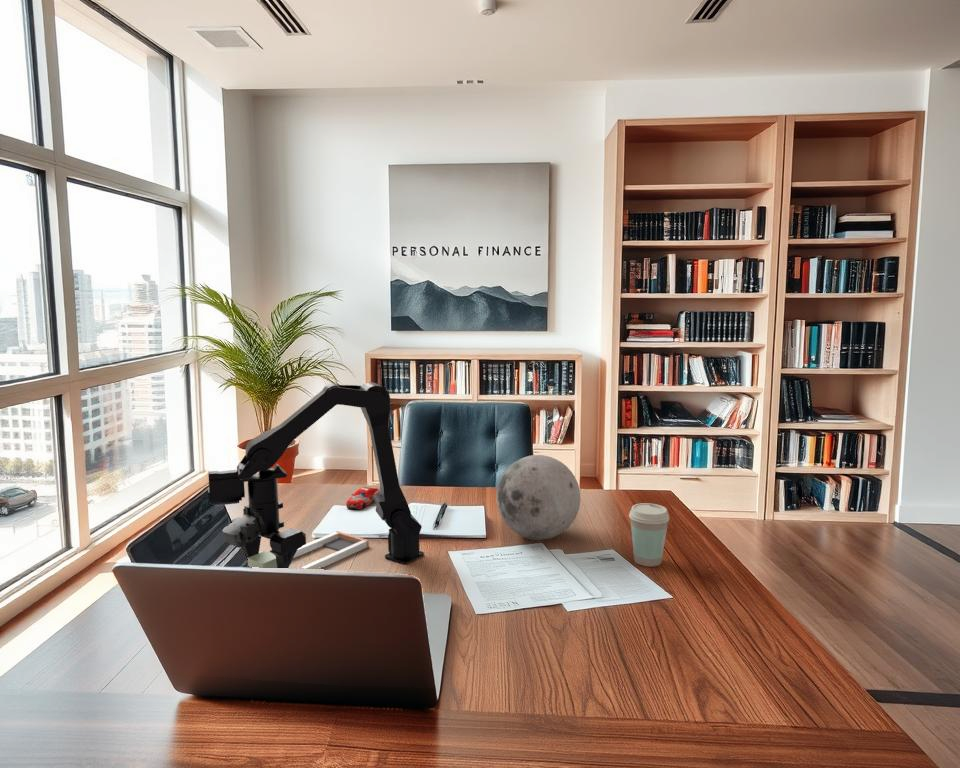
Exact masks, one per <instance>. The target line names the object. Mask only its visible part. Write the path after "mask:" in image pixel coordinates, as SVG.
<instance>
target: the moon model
mask: <svg viewBox="0 0 960 768" xmlns="http://www.w3.org/2000/svg"><path fill="white" fill-rule="evenodd" d="M496 488H497V489H496V504H497V509H498V512H499V514H500V516H501V518H502V520H503V522H504V524H506V526H507V527H509V529H510V530H512V531H513V532H514V533H515V534H517V535H518V536H521V537H523V538H526V539H529V540H535V541H543V540H545V541H546V540H548V539H549V540H550V539H553V538H555V537H557V536H560V535H562V533H564V532H565V531H567V530H568V528H570V526H572V524H573V523H574V521H575V519H576V518H577V516H578V513H579V510H580V505H581V490H580V486H579V483H578V480H577V478H576V476H575V475H574V473H573V472H572V470H571V469H570V468H569V467H568V466H567V465H566V464H564V463H563V462H562V461H560V460H558V459H557V458H554V457H551V456H548V455H545V454H543V455H542V454H532V455H527V456H525V457H522V458H519V459H518V460H516V461H514V462H513V463H511V465H509V466H508V467H507V468H506V469H505V471H504V472H503V474H502V475H501V477H500V479H499V482H498V484H497V487H496Z"/></svg>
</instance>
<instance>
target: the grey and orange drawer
mask: <svg viewBox="0 0 960 768" xmlns="http://www.w3.org/2000/svg"><path fill="white" fill-rule="evenodd" d="M335 532H336V533H339V538H338V539H336V540H334V541H331V542H329V543H327V544H324V545H323V546H322V547H325V548H329V549H332V550H335V551H336V552H337V551H339V550H342V549H344V548H346V547H348V546H351V545H353V544H355V543H358V542H360V541H362V540H363V541H366V548H365V549H367V548H369V546H370V543H369V542H370V541H369V540H368V539H365V538H363V537H359V536H355V535H352V534H348V533H346V532H342V531H335Z"/></svg>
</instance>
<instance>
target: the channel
mask: <svg viewBox="0 0 960 768" xmlns="http://www.w3.org/2000/svg"><path fill="white" fill-rule="evenodd" d="M336 532H337V531H335V532H332V533H330V534H326V535H325V536H323V537H320V538H317V539H315V540H313V541H310V542H306V545H303V546H302V547H301V548H298V550H297V552H296V553H295V555H294V557H293V559H294V558H298V557H300V556H302V555H305V554H307V553H309V552H311V551H315V550H317V549H319V548H322V547H324V546H323V545H324V544H327V543H329V542H331V541H334V540H336V539H338V538H339V533H336ZM364 549H367V548H366V541H363V540H362V541H360V542H358V543H355V544H353V545H351V546H348V547H346V548H344V549H342V550H339V551H337V550H336V551H335V552H333V553H331V554H328V555H326V556H324V557H321V558H320V559H317V560H314V561H313V562H310V563H308V564H305V565H304V566H301V568H304V569H319V570H320V569H322V568H319V567H323V568H325V567H327V566H329V565H331V564H333V563H336V562H338V561H340V560H342V559H344V558H347V557H349V556H351V555H353V554H355V553H358V552H360V551H362V550H364Z"/></svg>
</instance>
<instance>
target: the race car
mask: <svg viewBox="0 0 960 768" xmlns="http://www.w3.org/2000/svg"><path fill="white" fill-rule="evenodd" d="M379 491H380V488H378V487H371V486H368V487H367V486H363V487H361V488H359V489H358V490H356V491H355V492H354V493H351V497H350V498H348V500H346V501H345V502H346V504H345V505H346V508H347V509H350V510H365V508H366V507H368V506H369V505H371V504H372V503H375V500H374V497H373V495H376V494H379Z"/></svg>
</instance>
